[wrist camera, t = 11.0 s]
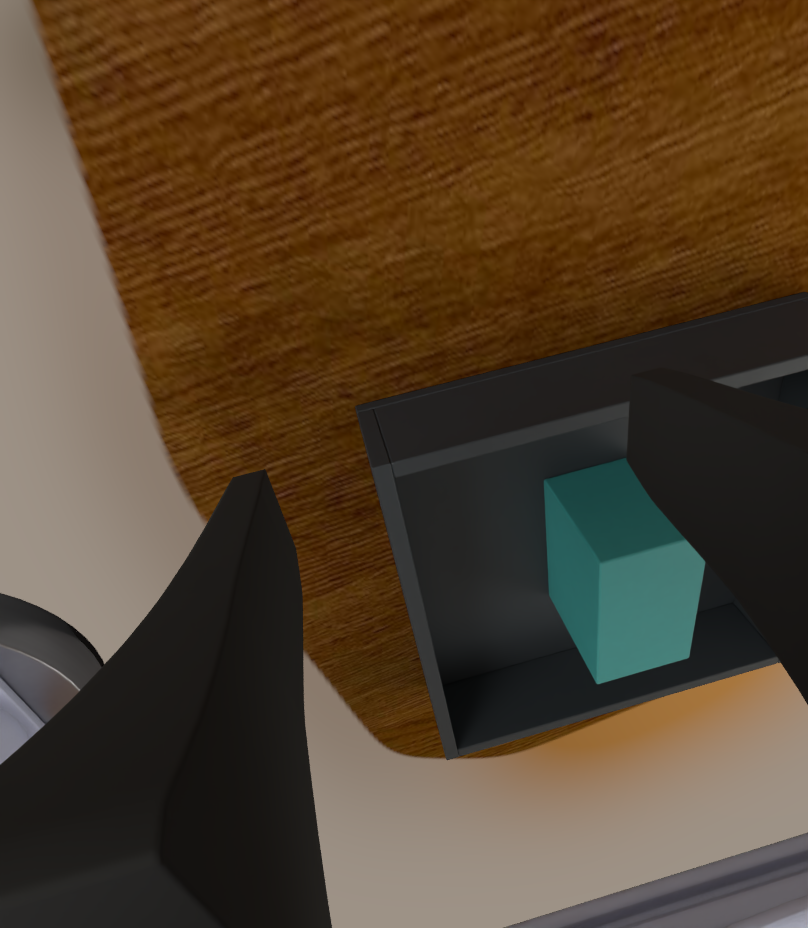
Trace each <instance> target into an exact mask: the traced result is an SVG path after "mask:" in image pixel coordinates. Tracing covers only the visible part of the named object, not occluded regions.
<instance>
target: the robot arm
mask: <svg viewBox="0 0 808 928" xmlns="http://www.w3.org/2000/svg"><path fill="white" fill-rule="evenodd" d="M626 461H627V462H628V464H629V465H630V467H631V469H632V470H633V472H634V474H635V475H636V477H637V479H638V480H639V482H640V483H641V485H642V486H643V488H644V489H645V491H646V492H647V494H648V495H649V497H650V498H651V500H652V501H653V502H654V503H655V504H656V506H657V507H658V508H659V509H660V510H661V512H662V513H663V514H664V515H665V516H666V517H667V519H668V520H669V521H670V522H671V523H672V524H673V525H674V527H675V528H676V529H677V530H678V531H679V532H680V533H681V535H682V536H683V537H684V538H685V539H686V540H687V541H688V543H689V544H690V545H691V546H692V547H693V548H694V549H695V551H696V552H697V553H698V554H699V555H700V556H701V557H702V558H703V560H704V561H705V562H706V563H707V564H708V565H709V566H710V568H711V569H712V570H713V571H714V572H715V573H716V574H717V575H718V577H719V578H720V579H721V580H722V581H723V582H724V584H725V585H726V586H727V587H728V589H729V590H730V591H731V592H732V594H733V595H734V596H735V597H736V599H737V600H738V601H739V603H740V604H741V605H742V607H743V608H744V610H745V611H746V612H747V614H748V615H749V617H750V618H751V620H752V621H753V622H754V624H755V625H756V627H757V628H758V630H759V631H760V632H761V634H762V635H763V637H764V638H765V639H766V641H767V642H768V644H769V645H770V647H771V648H772V650H773V651H774V653H775V654H776V656H777V658H778V659H779V661H780V662H781V664H782V665H783V667H784V668H785V670H786V671H787V673H788V674H789V676H790V677H791V679H792V680H793V682H794V683H795V685H796V686H797V688H798V689H799V691H800V693H801V694H802V696H803V698H804V699H805V701H806V703H807V704H808V409H805V408H801V407H797V406H794V405H790V404H787V403H783V402H780V401H776V400H773V399H770V398H766V397H763V396H759V395H756V394H753V393H750V392H746V391H743V390H740V389H737V388H733V387H730V386H727V385H724V384H721V383H717V382H714V381H711V380H708V379H704V378H701V377H698V376H694V375H691V374H687V373H684V372H680V371H676V370H672V369H667V368H662V367H660V368H656V369H652V370H648V371H644V372H640V373H637V374H633V375H631V384H630V403H629V421H628V439H627V457H626ZM303 693H304V687H303V601H302V588H301V580H300V573H299V566H298V559H297V553H296V547H295V545H294V542H293V540H292V537H291V535H290V532H289V529H288V527H287V524H286V522H285V519H284V517H283V514H282V511H281V509H280V506H279V504H278V501H277V498H276V496H275V493H274V491H273V488H272V486H271V483H270V480H269V478H268V475H267V473H266V470H265V469H264V470H260V471H257V472H253V473H249V474H245V475H241V476H237V477H233V479H232V480H231V482H230V483H229V485H228V487H227V489H226V490H225V492H224V494H223V496H222V498H221V499H220V501H219V503H218V505H217V507H216V509H215V510H214V512H213V514H212V516H211V518H210V519H209V521H208V523H207V525H206V527H205V528H204V530H203V532H202V534H201V535H200V537H199V538H198V540H197V542H196V544H195V545H194V547H193V549H192V550H191V552H190V554H189V556H188V557H187V559H186V560H185V562H184V563H183V565H182V566H181V568H180V569H179V571H178V572H177V574H176V575H175V577H174V578H173V580H172V581H171V583H170V585H169V586H168V587H167V589H166V590H165V592H164V593H163V595H162V596H161V597H160V599H159V600H158V602H157V603H156V604H155V605H154V607H153V608H152V610H151V611H150V612H149V613H148V615H147V616H146V617H145V618H144V620H143V621H142V622H141V623H140V625H139V626H138V627H137V628H136V629H135V631H134V632H133V633H132V634H131V636H130V637H129V638H128V639H127V640H126V641H125V643H124V644H123V645H122V646H121V647H120V648H119V650H118V651H117V652H116V653H115V654H114V655H113V656H112V657H111V658H110V659H109V660H108V661H107V662H106V663H105V664H104V666H103V667H102V668H101V669H100V670H99V671H98V672H97V673H96V674H95V675H94V676H93V677H92V678H91V679H90V680H89V682H88V683H87V684H86V685H85V686H84V687H83V688H82V689H81V690H80V691H79V692H78V693H77V694H76V695H75V696H74V697H73V698H72V699H71V700H70V701H69V702H68V703H67V704H66V705H65V706H64V707H63V708H62V709H61V710H60V711H59V712H58V713H57V714H56V715H55V716H54V717H53V718H51V719H50V720H49V721H48V722H47V723H46V724H44V723H43V722H42V721H41V720H40V718H39V717H38V716H37V715H36V714H35V713H34V712H33V711H32V710H31V709H30V708H29V707H28V706H27V705H26V704H25V703H24V702H23V701H22V700H21V699H20V698H19V697H18V696H17V694H16V693H15V692H14V691H13V690H12V689H11V688H10V687H9V686H8V685H7V684H6V683H5V682H4V681H3V680H2V679H1V678H0V928H332V925H331V919H330V912H329V906H328V899H327V892H326V885H325V879H324V871H323V864H322V857H321V850H320V843H319V836H318V828H317V820H316V812H315V805H314V797H313V789H312V781H311V773H310V764H309V755H308V747H307V737H306V730H305V716H304V694H303ZM504 928H808V833H805V834H802V835H799V836H796V837H793V838H790V839H786V840H783V841H780V842H777V843H774V844H770V845H767V846H764V847H760V848H758V849H754V850H751V851H748V852H745V853H741V854H738V855H735V856H732V857H728V858H725V859H722V860H719V861H716V862H713V863H709V864H706V865H703V866H700V867H696V868H693V869H690V870H687V871H684V872H680V873H677V874H674V875H671V876H668V877H664V878H661V879H658V880H655V881H652V882H648V883H645V884H642V885H639V886H636V887H632V888H629V889H626V890H623V891H620V892H616V893H613V894H610V895H607V896H604V897H601V898H597V899H594V900H591V901H588V902H584V903H581V904H578V905H575V906H572V907H568V908H565V909H562V910H559V911H556V912H552V913H549V914H546V915H543V916H540V917H537V918H533V919H530V920H527V921H524V922H520V923H517V924H514V925H511V926H508V927H504Z"/></svg>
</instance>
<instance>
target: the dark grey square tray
mask: <svg viewBox="0 0 808 928" xmlns="http://www.w3.org/2000/svg"><path fill="white" fill-rule="evenodd" d="M660 367H662V368H667V369H672V370H676V371H680V372H684V373H687V374H691V375H694V376H698V377H701V378H704V379H708V380H711V381H714V382H717V383H721V384H724V385H727V386H730V387H733V388H737V389H740V390H743V391H746V392H750V393H753V394H756V395H759V396H763V397H766V398H770V399H773V400H776V401H780V402H783V403H787V404H790V405H794V406H797V407H801V408H805V409H808V293H807V292H803V293H799V294H795V295H791V296H787V297H783V298H779V299H775V300H771V301H767V302H763V303H759V304H755V305H751V306H747V307H743V308H740V309H736V310H732V311H728V312H724V313H720V314H716V315H712V316H708V317H704V318H700V319H696V320H692V321H688V322H684V323H680V324H677V325H673V326H669V327H665V328H661V329H657V330H653V331H649V332H645V333H641V334H637V335H633V336H629V337H625V338H621V339H617V340H613V341H610V342H606V343H602V344H598V345H594V346H590V347H586V348H582V349H578V350H574V351H570V352H566V353H562V354H558V355H554V356H550V357H546V358H543V359H539V360H535V361H531V362H527V363H523V364H519V365H515V366H511V367H507V368H503V369H499V370H495V371H491V372H487V373H483V374H479V375H476V376H472V377H468V378H464V379H460V380H456V381H452V382H448V383H444V384H440V385H436V386H432V387H428V388H424V389H420V390H416V391H413V392H409V393H405V394H401V395H397V396H393V397H389V398H385V399H381V400H377V401H373V402H369V403H365V404H361V405H357V406H356V407H355V409H356V413H357V417H358V420H359V424H360V428H361V432H362V436H363V440H364V444H365V448H366V452H367V455H368V459H369V463H370V467H371V471H372V475H373V479H374V483H375V486H376V490H377V494H378V498H379V502H380V506H381V510H382V514H383V517H384V521H385V525H386V529H387V533H388V537H389V541H390V545H391V548H392V552H393V556H394V560H395V564H396V568H397V572H398V576H399V580H400V583H401V587H402V591H403V595H404V599H405V603H406V607H407V611H408V614H409V618H410V622H411V626H412V630H413V634H414V638H415V642H416V645H417V649H418V653H419V657H420V661H421V665H422V669H423V673H424V676H425V680H426V684H427V688H428V692H429V696H430V699H431V703H432V707H433V711H434V715H435V718H436V722H437V726H438V730H439V734H440V737H441V741H442V745H443V749H444V752H445V756H446V759H447V760H450V759H453V758H456V757H459V756H462V755H466V754H469V753H473V752H476V751H479V750H483V749H486V748H490V747H493V746H497V745H500V744H503V743H507V742H510V741H514V740H517V739H520V738H524V737H527V736H531V735H534V734H538V733H541V732H544V731H548V730H551V729H555V728H558V727H561V726H565V725H568V724H572V723H575V722H578V721H582V720H585V719H589V718H592V717H596V716H599V715H602V714H606V713H609V712H613V711H616V710H619V709H623V708H626V707H630V706H633V705H636V704H640V703H643V702H647V701H650V700H654V699H657V698H660V697H664V696H667V695H670V694H674V693H677V692H681V691H684V690H687V689H691V688H695V687H697V686H701V685H705V684H708V683H712V682H715V681H718V680H722V679H725V678H729V677H732V676H735V675H739V674H742V673H745V672H749V671H753V670H756V669H759V668H763V667H766V666H769V665H773V664H776V663H777V662H778V663H780V661H779V659H778V658H777V656H776V654H775V653H774V651H773V650H772V648H771V647H770V645H769V644H768V642H767V641H766V639H765V638H764V637H763V635H762V634H761V632H760V631H759V630H758V628H757V627H756V625H755V624H754V622H753V621H752V620H751V618H750V617H749V615H748V614H747V612H746V611H745V610H744V608H743V607H742V605H741V604H740V603H739V601H738V600H737V599H736V597H735V596H734V595H733V594H732V592H731V591H730V590H729V589H728V587H727V586H726V585H725V584H724V582H723V581H722V580H721V579H720V578H719V577H718V575H717V574H716V573H715V572H714V571H713V570H712V569H711V568H710V566H709V565H708V564H707V563H706V562H705V568H704V574H703V580H702V585H701V591H700V597H699V603H698V609H697V614H696V620H695V626H694V632H693V638H692V643H691V649H690V655H689V658H687V659H683V660H680V661H676V662H673V663H670V664H666V665H663V666H659V667H656V668H652V669H649V670H645V671H642V672H639V673H635V674H632V675H628V676H625V677H621V678H618V679H614V680H611V681H607V682H604V683H601V684H597V683H596V682H595V680H594V678H593V676H592V674H591V672H590V671H589V669H588V667H587V665H586V663H585V661H584V659H583V658H582V656H581V654H580V652H579V650H578V648H577V646H576V645H575V643H574V641H573V639H572V637H571V635H570V633H569V632H568V630H567V628H566V626H565V624H564V622H563V620H562V618H561V617H560V615H559V613H558V611H557V609H556V607H555V605H554V604H553V602H552V600H551V598H550V596H549V584H548V562H547V541H546V519H545V498H544V480H545V479H548V478H551V477H555V476H559V475H563V474H566V473H570V472H574V471H578V470H581V469H585V468H589V467H593V466H596V465H600V464H604V463H608V462H611V461H615V460H619V459H623V458H626V457H627V439H628V421H629V403H630V384H631V375H633V374H637V373H640V372H644V371H648V370H652V369H656V368H660Z"/></svg>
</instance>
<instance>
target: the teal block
mask: <svg viewBox="0 0 808 928" xmlns="http://www.w3.org/2000/svg"><path fill="white" fill-rule="evenodd" d="M544 498H545V519H546V541H547V562H548V584H549V596H550V598H551V600H552V602H553V604H554V605H555V607H556V609H557V611H558V613H559V615H560V617H561V618H562V620H563V622H564V624H565V626H566V628H567V630H568V632H569V633H570V635H571V637H572V639H573V641H574V643H575V645H576V646H577V648H578V650H579V652H580V654H581V656H582V658H583V659H584V661H585V663H586V665H587V667H588V669H589V671H590V672H591V674H592V676H593V678H594V680H595V682H596V683H597V684H601V683H604V682H607V681H611V680H614V679H618V678H621V677H625V676H628V675H632V674H635V673H639V672H642V671H645V670H649V669H652V668H656V667H659V666H663V665H666V664H670V663H673V662H676V661H680V660H683V659H687V658H689V655H690V649H691V643H692V638H693V632H694V626H695V620H696V614H697V609H698V603H699V597H700V591H701V585H702V580H703V574H704V568H705V561H704V560H703V558H702V557H701V556H700V555H699V554H698V553H697V552H696V551H695V549H694V548H693V547H692V546H691V545H690V544H689V543H688V541H687V540H686V539H685V538H684V537H683V536H682V535H681V533H680V532H679V531H678V530H677V529H676V528H675V527H674V525H673V524H672V523H671V522H670V521H669V520H668V519H667V517H666V516H665V515H664V514H663V513H662V512H661V510H660V509H659V508H658V507H657V506H656V504H655V503H654V502H653V501H652V500H651V498H650V497H649V495H648V494H647V492H646V491H645V489H644V488H643V486H642V485H641V483H640V482H639V480H638V479H637V477H636V475H635V474H634V472H633V470H632V469H631V467H630V465H629V464H628V462H627V461H626V458H623V459H619V460H615V461H611V462H608V463H604V464H600V465H596V466H593V467H589V468H585V469H581V470H578V471H574V472H570V473H566V474H563V475H559V476H555V477H551V478H548V479H545V480H544Z"/></svg>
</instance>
